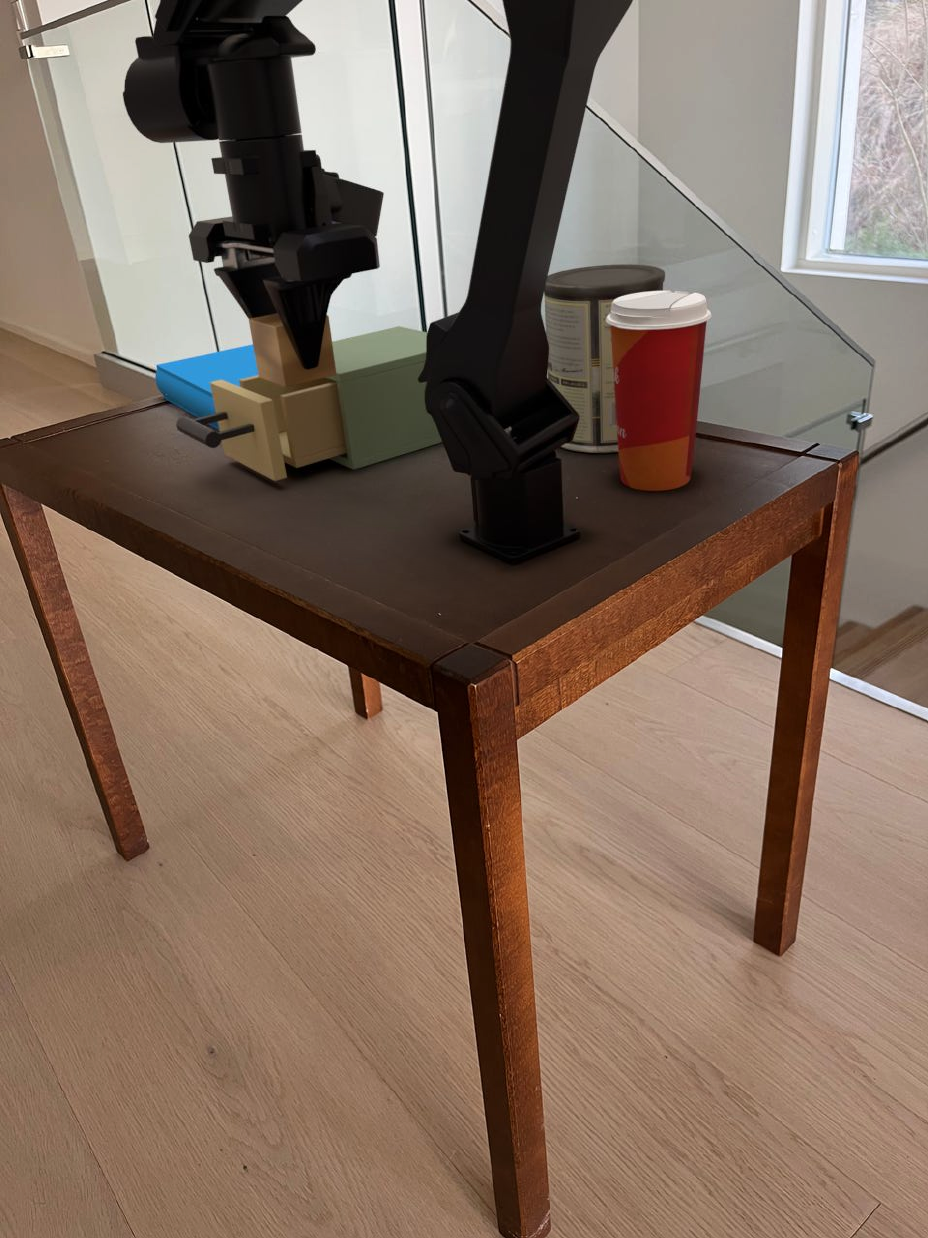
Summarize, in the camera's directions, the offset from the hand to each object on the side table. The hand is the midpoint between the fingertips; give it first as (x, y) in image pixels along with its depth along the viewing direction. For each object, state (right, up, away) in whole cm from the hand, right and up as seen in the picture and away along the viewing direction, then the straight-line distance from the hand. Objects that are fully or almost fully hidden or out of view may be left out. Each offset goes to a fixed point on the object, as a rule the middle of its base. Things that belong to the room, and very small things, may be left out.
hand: (296, 363), depth 74 cm
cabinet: (+5, -2, +18) cm, 19 cm away
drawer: (-3, -5, +13) cm, 14 cm away
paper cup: (+28, -9, +3) cm, 30 cm away
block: (0, -1, 0) cm, 1 cm away
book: (-9, +4, +33) cm, 34 cm away
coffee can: (+26, -3, +14) cm, 30 cm away
